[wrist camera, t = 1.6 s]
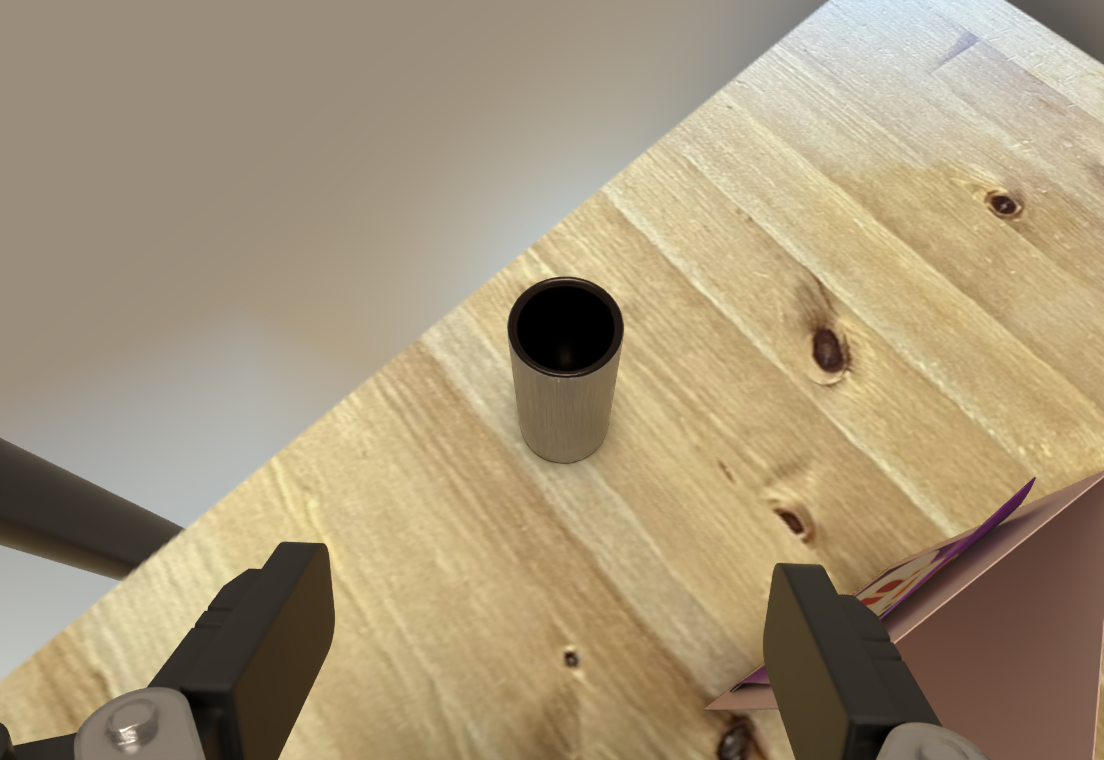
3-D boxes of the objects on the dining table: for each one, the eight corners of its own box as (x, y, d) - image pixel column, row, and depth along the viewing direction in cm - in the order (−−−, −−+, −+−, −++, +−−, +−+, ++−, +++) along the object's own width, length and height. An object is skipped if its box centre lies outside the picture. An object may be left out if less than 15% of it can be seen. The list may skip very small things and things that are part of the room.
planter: (581, 479, 36) (590, 398, 27) (503, 438, 37) (484, 345, 28) (623, 406, 38) (644, 304, 28) (547, 367, 39) (543, 257, 29)
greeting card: (881, 547, 34) (1092, 441, 21) (1001, 689, 32) (1331, 673, 18) (691, 691, 32) (788, 676, 18) (804, 857, 29) (1016, 985, 16)
